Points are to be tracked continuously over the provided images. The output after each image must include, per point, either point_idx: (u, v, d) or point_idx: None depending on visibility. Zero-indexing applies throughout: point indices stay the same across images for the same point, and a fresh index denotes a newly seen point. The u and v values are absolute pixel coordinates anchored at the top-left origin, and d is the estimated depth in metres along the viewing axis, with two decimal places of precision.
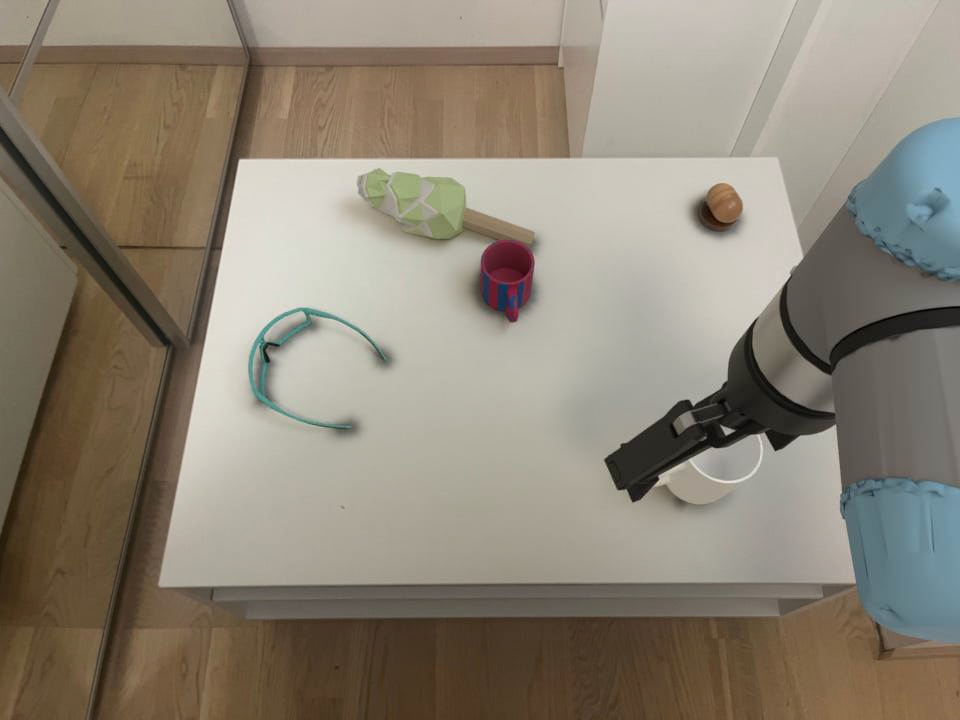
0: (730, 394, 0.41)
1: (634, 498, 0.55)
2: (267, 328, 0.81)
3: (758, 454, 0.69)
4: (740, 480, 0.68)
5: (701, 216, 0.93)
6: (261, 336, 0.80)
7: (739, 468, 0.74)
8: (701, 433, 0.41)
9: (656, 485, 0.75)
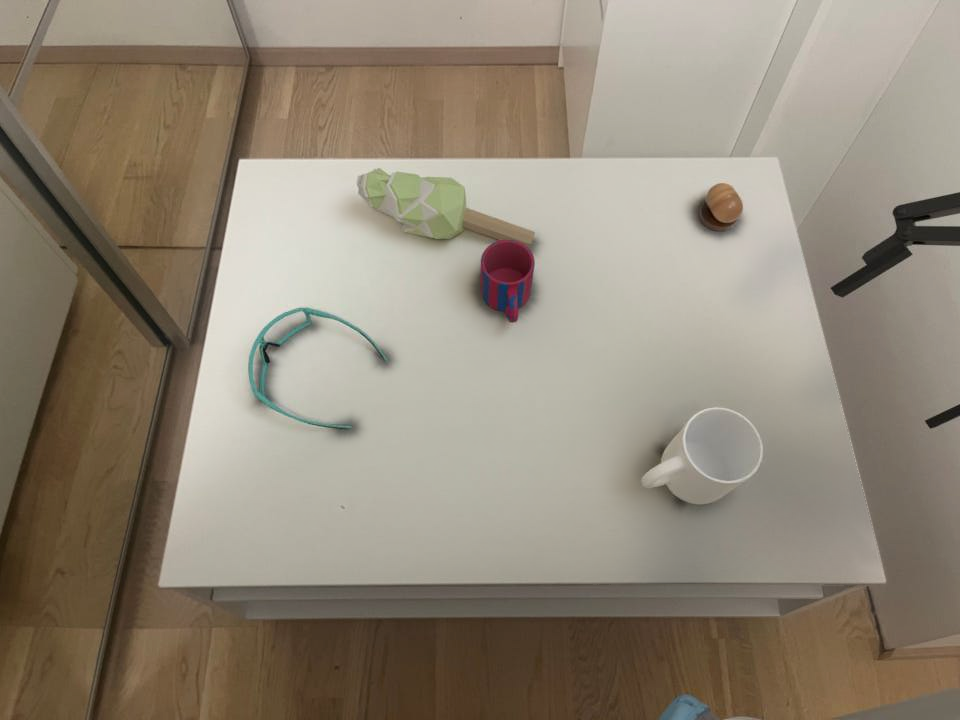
0: None
1: (841, 281, 0.60)
2: (267, 328, 0.81)
3: (758, 454, 0.69)
4: (740, 480, 0.68)
5: (701, 216, 0.93)
6: (261, 336, 0.80)
7: (739, 468, 0.74)
8: None
9: (656, 485, 0.75)
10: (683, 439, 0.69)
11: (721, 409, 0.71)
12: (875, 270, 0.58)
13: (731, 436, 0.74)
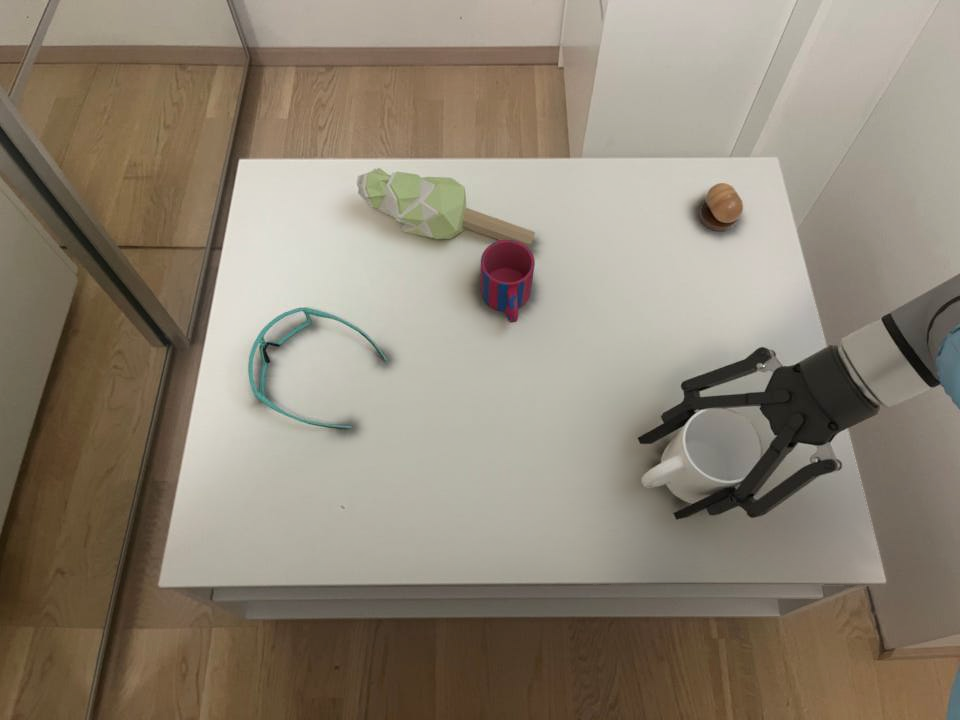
0: None
1: (645, 433, 0.75)
2: (267, 328, 0.81)
3: (758, 454, 0.69)
4: (740, 480, 0.68)
5: (701, 216, 0.93)
6: (261, 336, 0.80)
7: (739, 468, 0.74)
8: (766, 349, 0.67)
9: (656, 485, 0.75)
10: (683, 439, 0.69)
11: (721, 409, 0.71)
12: (668, 429, 0.73)
13: (731, 436, 0.74)
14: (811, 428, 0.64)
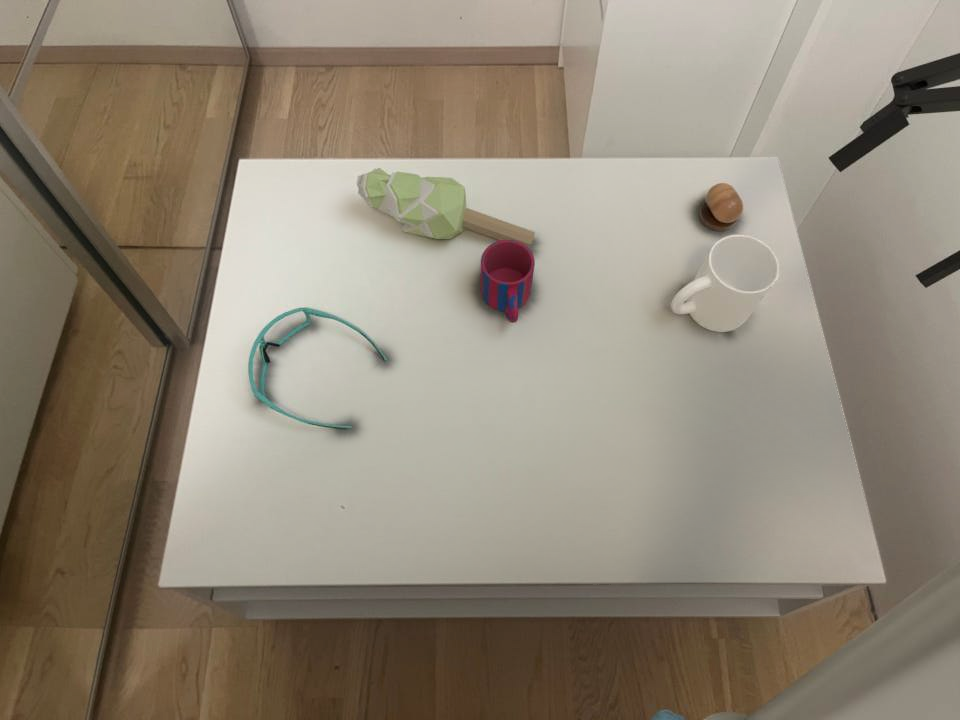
0: None
1: (839, 150, 0.61)
2: (267, 328, 0.81)
3: (775, 272, 0.79)
4: (759, 291, 0.77)
5: (701, 216, 0.93)
6: (261, 336, 0.80)
7: None
8: None
9: (683, 311, 0.84)
10: (709, 259, 0.79)
11: (742, 236, 0.80)
12: (872, 137, 0.60)
13: (750, 267, 0.84)
14: None
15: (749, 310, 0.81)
